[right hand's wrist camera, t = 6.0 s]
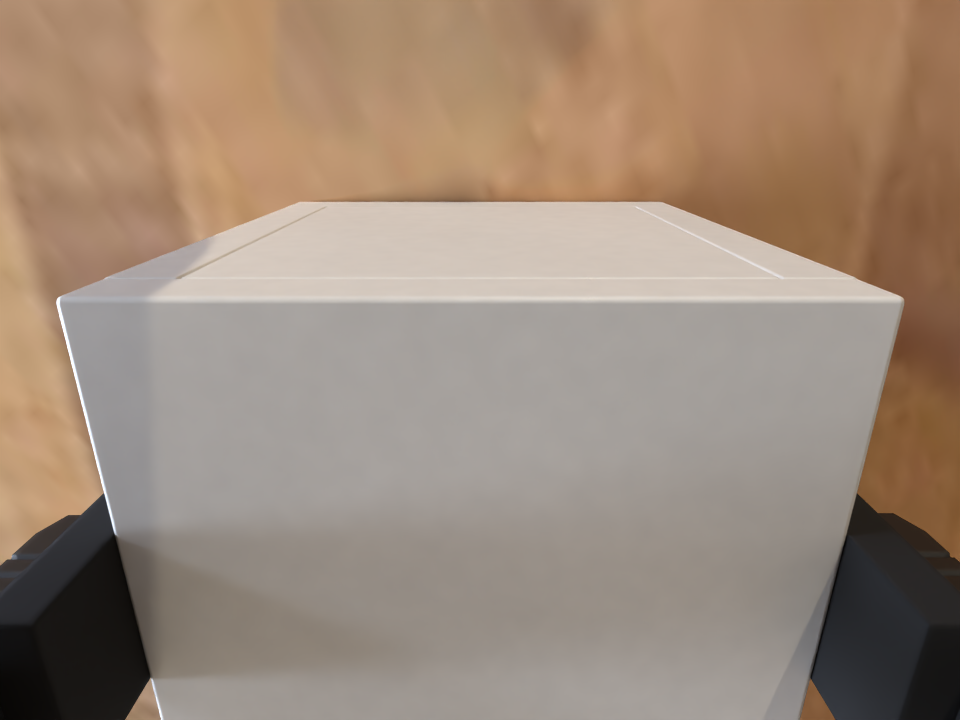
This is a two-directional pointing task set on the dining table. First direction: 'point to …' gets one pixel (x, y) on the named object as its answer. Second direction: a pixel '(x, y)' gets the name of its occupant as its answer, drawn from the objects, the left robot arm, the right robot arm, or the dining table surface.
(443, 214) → the cabinet
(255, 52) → the dining table surface
